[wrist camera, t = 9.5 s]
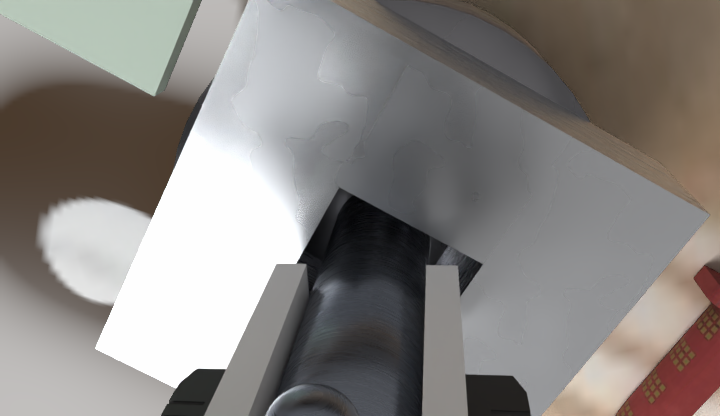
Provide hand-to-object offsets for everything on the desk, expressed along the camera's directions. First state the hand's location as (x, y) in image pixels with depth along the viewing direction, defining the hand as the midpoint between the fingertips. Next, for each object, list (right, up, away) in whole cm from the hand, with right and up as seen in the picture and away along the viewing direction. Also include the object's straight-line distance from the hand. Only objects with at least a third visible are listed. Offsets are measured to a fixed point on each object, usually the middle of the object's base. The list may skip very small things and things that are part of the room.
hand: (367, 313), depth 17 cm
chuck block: (+1, +4, +9) cm, 9 cm away
